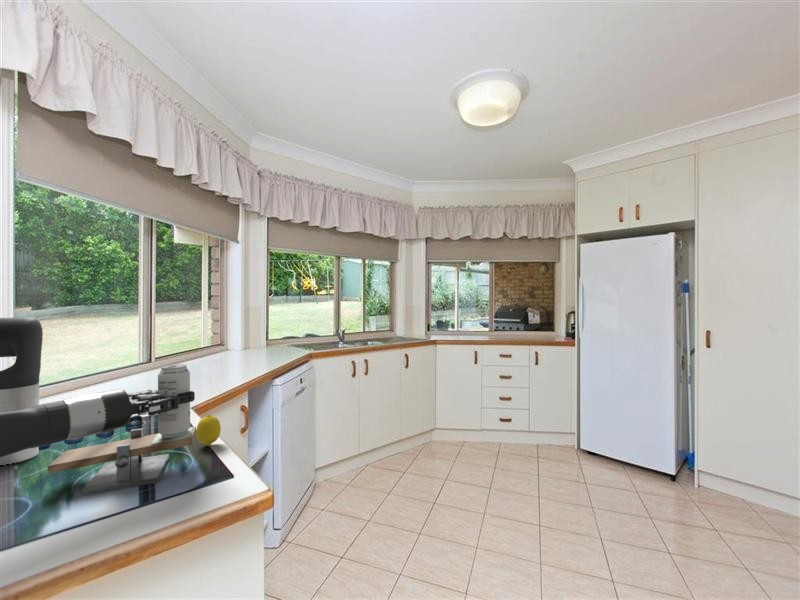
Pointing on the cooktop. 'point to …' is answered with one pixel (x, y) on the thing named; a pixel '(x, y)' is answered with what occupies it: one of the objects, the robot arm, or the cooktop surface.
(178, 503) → the cooktop surface
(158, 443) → the beam
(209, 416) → the lemon
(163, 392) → the energy drink can
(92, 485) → the beam stand
